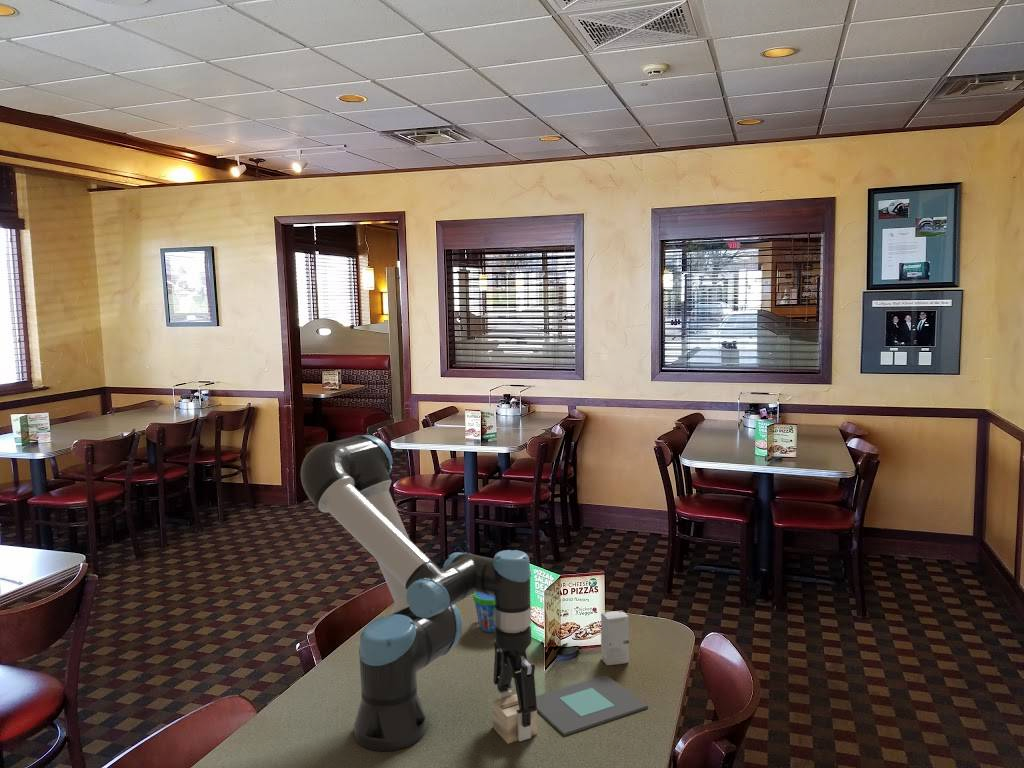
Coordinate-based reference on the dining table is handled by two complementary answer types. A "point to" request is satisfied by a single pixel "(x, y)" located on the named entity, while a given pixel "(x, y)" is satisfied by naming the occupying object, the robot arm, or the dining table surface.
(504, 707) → the birch block
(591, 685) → the rubber mat
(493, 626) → the snack cup
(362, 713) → the robot arm
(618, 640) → the skincare box
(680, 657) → the dining table surface
